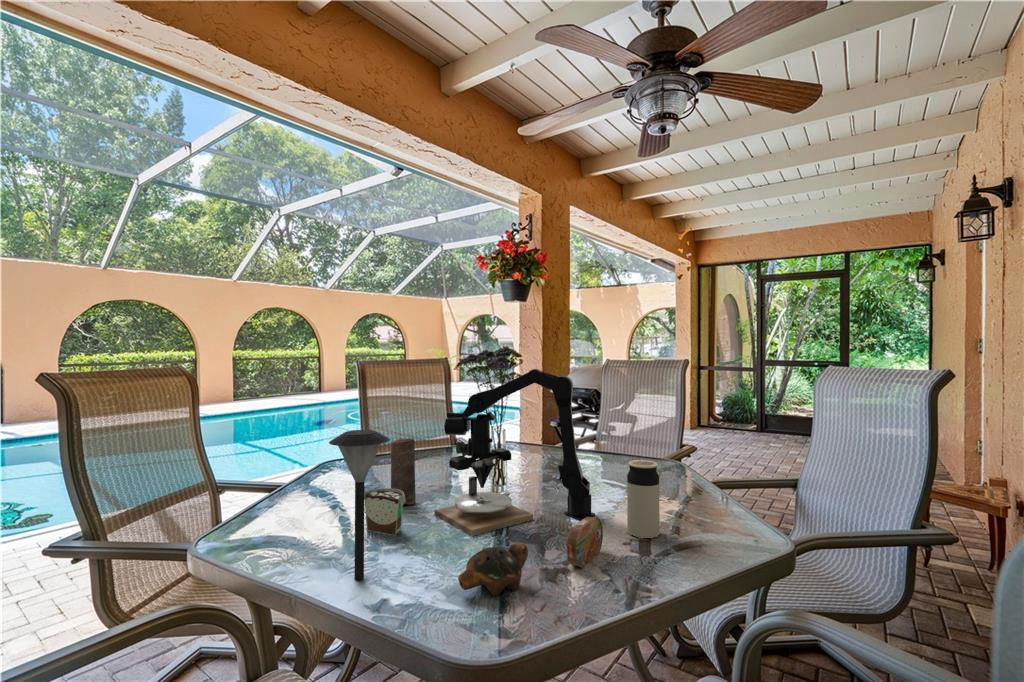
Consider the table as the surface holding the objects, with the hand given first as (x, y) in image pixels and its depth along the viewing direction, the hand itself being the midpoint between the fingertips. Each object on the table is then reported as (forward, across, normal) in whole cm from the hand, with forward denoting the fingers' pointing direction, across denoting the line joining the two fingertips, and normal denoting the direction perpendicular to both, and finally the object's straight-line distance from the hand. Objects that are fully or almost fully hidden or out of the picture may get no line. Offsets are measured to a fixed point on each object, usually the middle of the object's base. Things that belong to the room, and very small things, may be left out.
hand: (481, 487), depth 145 cm
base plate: (+6, +4, +6) cm, 10 cm away
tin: (+6, +1, +43) cm, 44 cm away
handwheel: (+4, +4, +6) cm, 9 cm away
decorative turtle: (+6, +25, +42) cm, 50 cm away
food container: (+5, +29, 0) cm, 30 cm away
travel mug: (+7, -22, +41) cm, 47 cm away
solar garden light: (+5, +45, +22) cm, 50 cm away
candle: (+6, +17, -19) cm, 26 cm away
